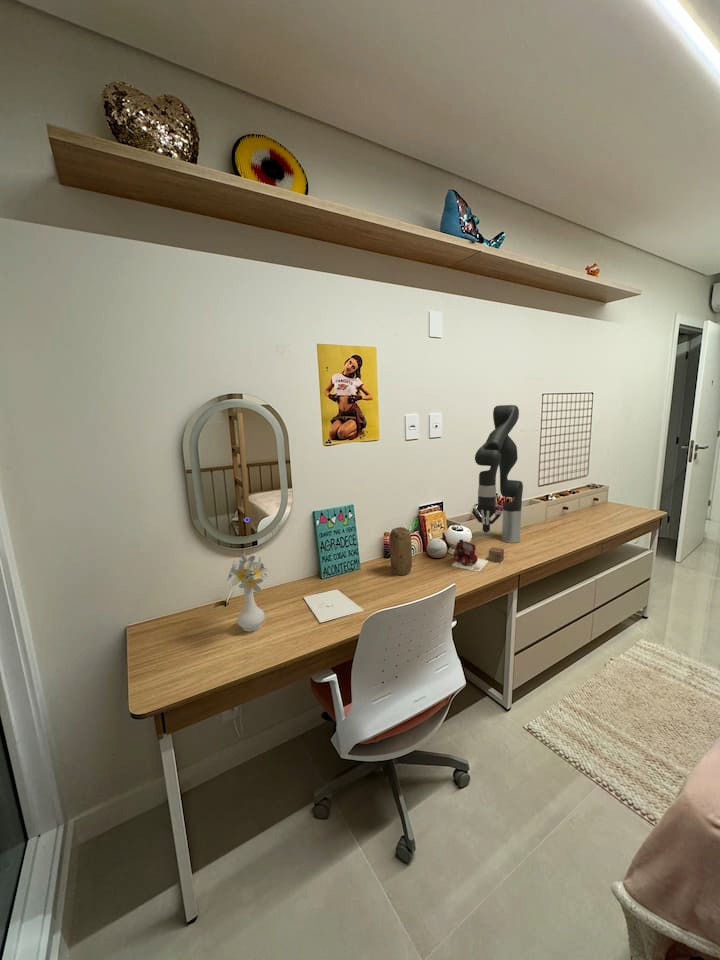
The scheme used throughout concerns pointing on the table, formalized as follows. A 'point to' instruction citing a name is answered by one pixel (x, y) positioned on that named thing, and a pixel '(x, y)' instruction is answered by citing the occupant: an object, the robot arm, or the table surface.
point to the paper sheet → (331, 605)
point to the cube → (496, 554)
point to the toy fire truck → (465, 553)
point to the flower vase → (249, 591)
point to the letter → (472, 565)
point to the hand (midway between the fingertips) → (486, 531)
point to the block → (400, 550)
